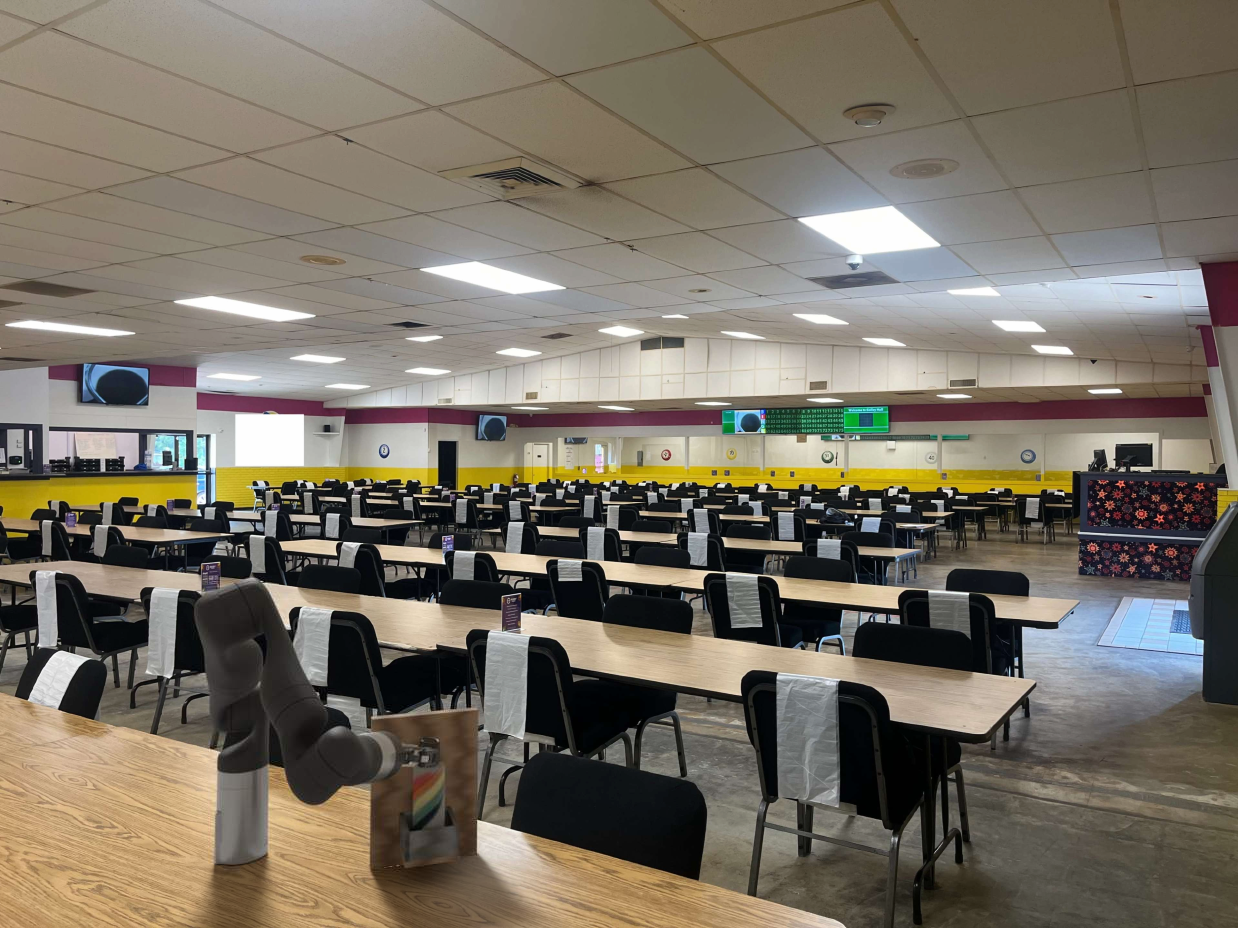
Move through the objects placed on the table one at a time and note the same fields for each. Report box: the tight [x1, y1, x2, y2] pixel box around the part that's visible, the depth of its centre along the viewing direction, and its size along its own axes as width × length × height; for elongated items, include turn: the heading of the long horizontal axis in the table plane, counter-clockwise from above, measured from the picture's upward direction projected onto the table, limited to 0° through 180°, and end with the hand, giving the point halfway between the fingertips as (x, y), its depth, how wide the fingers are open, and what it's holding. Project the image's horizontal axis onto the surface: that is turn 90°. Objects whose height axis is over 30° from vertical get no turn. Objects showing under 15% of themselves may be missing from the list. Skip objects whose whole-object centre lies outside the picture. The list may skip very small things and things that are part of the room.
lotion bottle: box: [413, 738, 445, 831], centre depth 155 cm, size 6×6×20 cm
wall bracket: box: [369, 706, 479, 871], centre depth 157 cm, size 20×12×28 cm, turn 110°
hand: (405, 751), depth 146 cm, fingers open, 8 cm apart
